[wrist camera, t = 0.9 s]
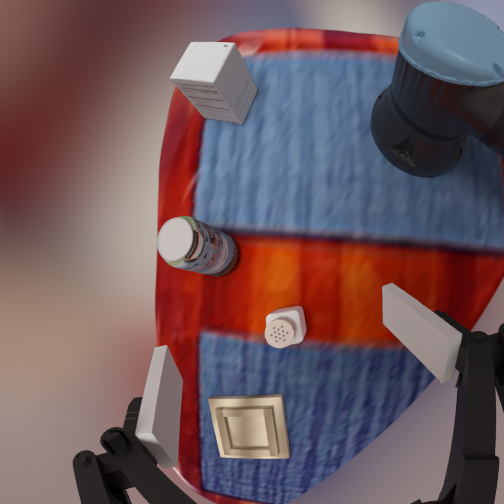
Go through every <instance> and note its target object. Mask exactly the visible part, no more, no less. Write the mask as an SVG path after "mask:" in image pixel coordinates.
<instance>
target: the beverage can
mask: <svg viewBox="0 0 504 504" xmlns="http://www.w3.org/2000/svg"><path fill="white" fill-rule="evenodd" d="M157 247H158V250H159V253H160V255H161V256H162V257H163V258H164V260H165V261H166V262H167V263H168V264H169V265H171V266H173V267H175V268H180V269H184V270H189V271H194V272H198V273H203V274H208V275H212V276H223V275H226V274H227V273H229V272H230V271H231V270H232V269H233V268H234V267H235V265H236V263H237V260H238V247H237V244H236V242H235V241H234V240H233V239H232V238H231V237H230V236H228V235H226V234H224V233H222V232H220V231H218V230H216V229H214V228H212V227H210V226H208V225H206V224H204V223H202V222H200V221H198V220H196V219H194V218H192V217H189V216H181V217H178V218H173V219H171V220H169V221H167V222H166V223H165V224H164V225H163V227H162V228H161V230H160V232H159V234H158V239H157Z"/></svg>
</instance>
